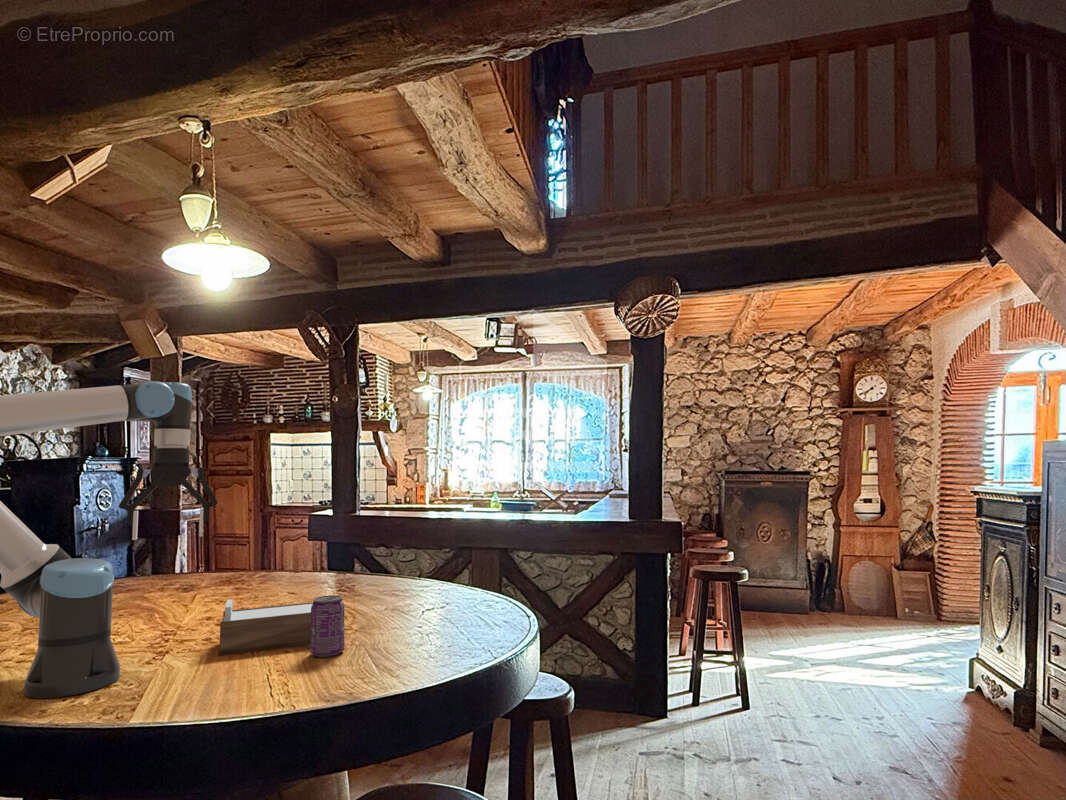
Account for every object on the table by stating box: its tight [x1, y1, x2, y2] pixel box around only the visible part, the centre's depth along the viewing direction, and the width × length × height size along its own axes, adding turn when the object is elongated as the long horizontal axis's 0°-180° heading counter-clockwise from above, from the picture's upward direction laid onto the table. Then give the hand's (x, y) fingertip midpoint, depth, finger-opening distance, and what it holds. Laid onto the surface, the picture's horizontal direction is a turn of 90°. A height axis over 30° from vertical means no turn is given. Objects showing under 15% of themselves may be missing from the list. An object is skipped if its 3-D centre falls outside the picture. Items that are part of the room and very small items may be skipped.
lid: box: [222, 599, 313, 621], centre depth 153 cm, size 11×21×4 cm, turn 112°
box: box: [219, 601, 314, 657], centre depth 153 cm, size 12×22×7 cm, turn 112°
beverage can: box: [310, 594, 345, 658], centre depth 143 cm, size 7×7×12 cm
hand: (168, 537), depth 153 cm, fingers open, 13 cm apart
